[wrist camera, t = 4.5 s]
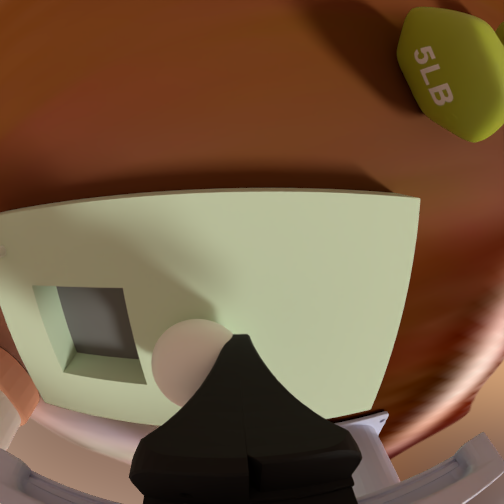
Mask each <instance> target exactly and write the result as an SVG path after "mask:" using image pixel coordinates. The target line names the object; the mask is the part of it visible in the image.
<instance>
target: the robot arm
mask: <svg viewBox="0 0 504 504" xmlns="http://www.w3.org/2000/svg"><path fill="white" fill-rule="evenodd" d="M388 415H389V414H388V413H387V411H384V412H380V413H376V414H373V415H369V416H365V417H361V418H357V419H353V420H348V421H344V422H339V423H332V422H330V421H328V420H326V419H325V418H323V417H321V416H320V415H318V414H317V413H315V412H314V411H312V410H311V409H310V408H308V407H307V406H306V405H304V404H303V403H302V402H300V401H299V400H298V399H297V398H296V397H294V396H293V395H292V394H291V393H290V392H289V391H288V390H287V389H286V388H285V387H284V386H283V385H282V384H281V383H280V382H279V381H278V380H277V379H276V377H275V376H274V375H273V374H272V372H271V371H270V370H269V369H268V367H267V366H266V364H265V363H264V362H263V360H262V359H261V357H260V356H259V354H258V352H257V350H256V349H255V347H254V345H253V343H252V341H251V338H250V336H249V335H248V334H233V336H232V338H231V339H230V340H229V341H228V342H226V343H225V345H224V346H223V348H222V349H221V351H220V354H219V356H218V358H217V360H216V362H215V364H214V366H213V367H212V369H211V371H210V372H209V374H208V375H207V377H206V379H205V380H204V382H203V383H202V385H201V386H200V387H199V389H198V390H197V391H196V392H195V394H194V395H193V396H192V397H191V398H190V399H189V400H188V402H187V403H186V404H185V405H184V406H183V407H182V408H181V409H180V410H179V411H178V412H177V413H176V414H174V415H173V416H172V417H171V418H170V419H169V420H168V421H166V422H165V423H164V424H163V425H161V426H160V427H159V428H157V429H156V430H154V431H153V432H151V433H150V434H148V435H147V436H146V437H144V438H142V439H141V441H140V443H139V445H138V447H137V449H136V451H135V454H134V456H133V459H132V464H131V469H130V474H129V478H130V480H131V482H132V483H133V484H134V485H135V486H136V487H137V488H138V490H139V491H140V492H141V493H142V494H143V495H144V500H143V504H465V503H466V502H468V501H469V500H471V499H472V498H473V497H475V496H476V495H478V494H479V493H480V492H481V491H483V490H484V489H485V488H486V487H488V486H489V485H490V484H491V483H493V482H494V481H495V480H496V479H497V478H498V477H499V476H500V475H502V474H503V473H504V460H503V459H502V457H501V456H500V454H499V453H498V451H497V450H496V448H495V447H494V446H493V444H492V443H491V441H490V440H489V439H488V437H487V436H486V434H485V433H484V432H482V433H480V434H479V435H477V436H476V437H474V438H473V439H471V440H470V441H468V442H466V443H465V444H464V445H463V446H461V447H460V448H459V450H458V451H457V452H456V453H455V455H454V456H452V457H450V458H449V459H447V460H445V461H443V462H441V463H440V464H438V465H436V466H434V467H432V468H430V469H428V470H426V471H424V472H422V473H420V474H418V475H415V476H413V477H411V478H409V479H406V480H404V481H402V482H400V480H399V478H398V476H397V474H396V471H395V469H394V467H393V465H392V463H391V461H390V459H389V457H388V455H387V453H386V451H385V449H384V447H383V445H382V443H381V441H380V439H379V437H378V435H379V433H380V431H381V429H382V427H383V425H384V423H385V421H386V419H387V417H388ZM0 503H1V504H121V503H117V502H113V501H110V500H106V499H103V498H99V497H96V496H93V495H90V494H87V493H84V492H81V491H78V490H75V489H73V488H70V487H67V486H65V485H62V484H60V483H57V482H55V481H53V480H51V479H48V478H46V477H44V476H42V475H40V474H38V473H36V472H34V471H31V469H30V468H29V467H28V466H27V465H26V464H25V463H24V462H23V461H21V460H20V459H19V458H17V457H15V456H14V455H12V454H10V453H8V452H7V451H5V450H3V449H2V448H0Z"/></svg>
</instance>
